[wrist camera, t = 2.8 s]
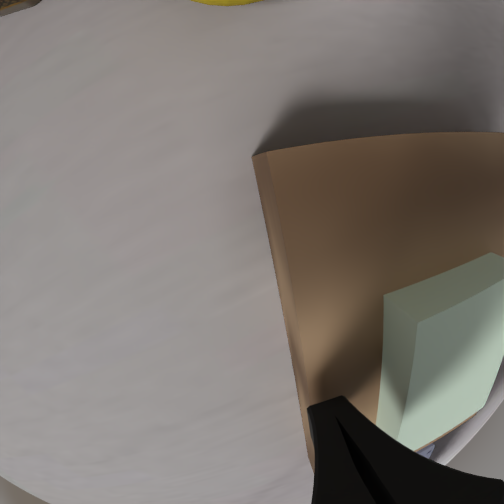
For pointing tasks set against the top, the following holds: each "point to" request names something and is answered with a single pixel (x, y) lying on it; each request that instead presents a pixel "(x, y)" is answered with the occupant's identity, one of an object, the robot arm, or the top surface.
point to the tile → (441, 350)
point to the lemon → (226, 2)
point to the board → (370, 243)
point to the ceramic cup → (15, 5)
